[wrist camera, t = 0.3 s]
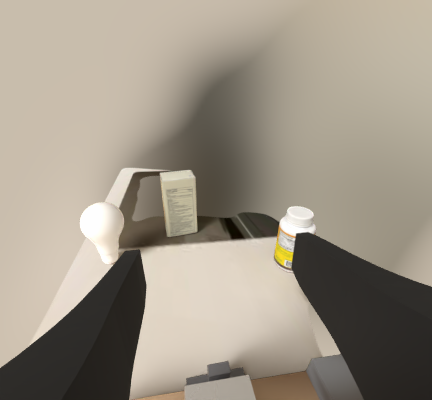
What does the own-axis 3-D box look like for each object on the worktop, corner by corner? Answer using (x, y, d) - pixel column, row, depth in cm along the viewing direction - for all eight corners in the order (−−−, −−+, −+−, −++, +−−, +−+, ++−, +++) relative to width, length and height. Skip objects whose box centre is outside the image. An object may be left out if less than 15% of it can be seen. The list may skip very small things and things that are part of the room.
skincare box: (193, 222, 52) (192, 169, 46) (198, 233, 48) (197, 177, 43) (163, 226, 50) (158, 171, 45) (165, 238, 46) (161, 180, 41)
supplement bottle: (290, 249, 44) (300, 200, 40) (313, 268, 40) (328, 216, 35) (266, 257, 42) (274, 207, 38) (288, 279, 38) (300, 225, 33)
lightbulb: (99, 250, 43) (86, 195, 38) (134, 250, 43) (125, 195, 38) (84, 275, 37) (67, 215, 32) (124, 275, 37) (113, 215, 32)
